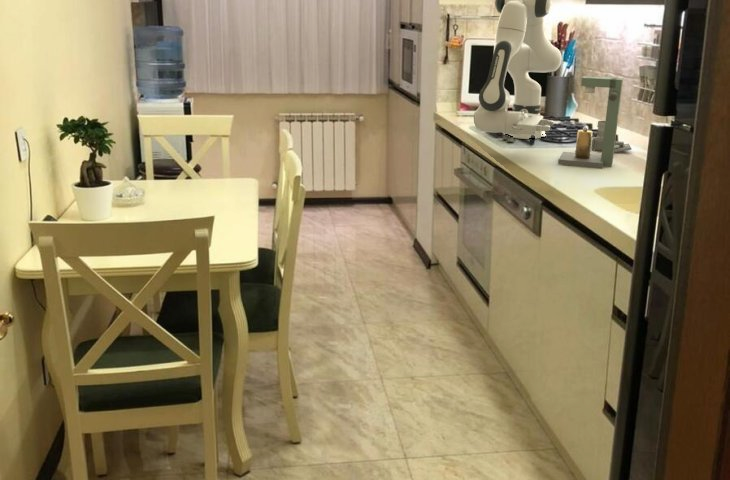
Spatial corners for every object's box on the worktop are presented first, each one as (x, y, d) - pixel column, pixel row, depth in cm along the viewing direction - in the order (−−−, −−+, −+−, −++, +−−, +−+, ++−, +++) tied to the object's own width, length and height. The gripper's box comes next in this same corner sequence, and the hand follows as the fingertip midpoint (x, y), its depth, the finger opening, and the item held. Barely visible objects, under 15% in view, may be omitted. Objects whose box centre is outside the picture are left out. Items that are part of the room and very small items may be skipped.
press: (562, 156, 294) (571, 73, 283) (613, 161, 288) (623, 76, 277) (555, 167, 277) (564, 80, 266) (609, 172, 270) (620, 83, 260)
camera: (594, 119, 307) (632, 121, 304) (590, 147, 311) (628, 150, 308) (595, 123, 299) (635, 125, 296) (592, 152, 303) (630, 154, 300)
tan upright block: (575, 155, 288) (578, 125, 284) (590, 156, 286) (593, 126, 282) (574, 158, 283) (577, 127, 279) (588, 159, 281) (592, 129, 277)
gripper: (510, 120, 280) (548, 123, 275) (520, 110, 298) (556, 112, 293) (509, 136, 282) (546, 139, 278) (519, 125, 300) (554, 128, 295)
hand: (551, 125), depth 285 cm, fingers open, 8 cm apart
